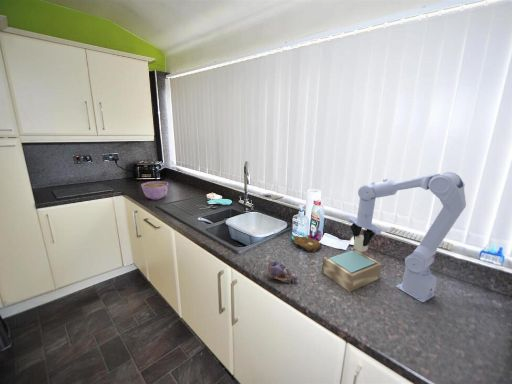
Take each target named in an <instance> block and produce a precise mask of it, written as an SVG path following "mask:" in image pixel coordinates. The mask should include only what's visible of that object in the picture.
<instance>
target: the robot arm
mask: <svg viewBox="0 0 512 384" xmlns="http://www.w3.org/2000/svg"><path fill="white" fill-rule="evenodd" d="M465 185H466V184H465V182H464V181H463V178H461V177H460V176H459V174H457V173H455V172H452V171H451V172H450V171H448V172H444V173H442V174H441V173H432V174H424V175H421V176H416V177H412V178H411V177H410V178H408V179H404V180H399V181H394V180H392V179H388V178H386V179H383V180H382V181H380V182H371V183H370V184H366V185H363V186H360V188H358V192H357V194H358V196H359V202H358V209H357V210H358V211H357V216H356V218H354V217H352V216H351V217H348V218H347V223H349V224H350V223H351V225H350V230H351V231H352V235H353V241H354V240H355V236H358V235H361V231H362V230H363V229H365V230H363V231H362V233H363V234H362V235H363V236H364V241H363V246H368V247H369V243H370V241H371V240H372V238H373V237H374V236H375V235H377V236H378V235H380V234H382V229H381V228H379V227H378V226H376V225H374V224H373V223H372V222H373V217H374V210H375V205H376V199H378V198H384V197H388V196H395V195H396V194H397V192H398V191H402V190H409V189H413V188H414V189H415V188H421V189H423V190H426V191H428V190H429V191H430V192H431V193H432V194H433V195H434V196H435V197H437V198H438V199H439V201H440V202H441V204H442V208H441V210H440V212H439V213H438V215H437V216H436V217H435V219H434V220H433V222H432V224H431V226H430V227H429V229H428V230H427V232H426V234H425V235H424V236H423V238H422V240H421V242H420V243H419V245H417V247H416V248H415V249H414V250H413V252H412V253H411V254H409V255H407V256H406V257H405V258H404V264H405V268H404V273H403V277H402V282H401V283H399V284H397V285H396V286H395V287H396V288H397V289H399V290H400V291H402V292H403V293H405V294H407V295H409V296H411V298H413V299H416V300H418V301H419V302H420V303H425V302H427V301H428V300H430V299H431V298H433V297H435V292H436V291H435V290H436V287H437V283H438V278H437V277H436V276H434V275H433V274H432V273H431V269H430V266H431V265H432V264H433V263H434V262H435V255H436V254H437V250H438V248H439V247H440V245H441V244H442V242H443V241H444V239H445V238H446V236H447V235H448V233H449V232H450V230H451V229H452V227H453V226H454V224H455V223H457V221H458V219H459V217H460V216H461V214H462V212H463V211H464V210H465V209H466V206H467V201H466V193H465Z"/></svg>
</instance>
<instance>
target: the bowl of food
mask: <svg viewBox="0 0 512 384" xmlns="http://www.w3.org/2000/svg"><path fill="white" fill-rule="evenodd" d="M140 186H141V189H142V192H143V194H144V196H145V197H146V198H147V199H149V200H150V199H151V200H153V201H154V200H155V201H156V200H160V199H163V198H164V197H166V195H168V191H169V182H168V181H165V180H164V181H162V180H156V181H147V182H144V183H141V184H140Z"/></svg>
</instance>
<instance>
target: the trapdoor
mask: <svg viewBox="0 0 512 384" xmlns="http://www.w3.org/2000/svg"><path fill="white" fill-rule="evenodd" d="M329 259H330V260H331V261H333V262H334V263H336V264H337V265H339V266H341V267H342V268H344V269H345V270H347V271H348V272H350V273H352V274H353V273H356V272H358V271H360V270H363V269H365V268H368V267H370V266H373V265H375V262H373V261H371V260H369V259H367V258H366V257H364V256H362V255H360V254H358V253H356V252H354V251H353V250H352V251H350V250H349V251H346V252H343V253H339V254H337V255H334V256H332V257H329Z"/></svg>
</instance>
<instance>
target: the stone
mask: <svg viewBox="0 0 512 384" xmlns="http://www.w3.org/2000/svg"><path fill="white" fill-rule="evenodd" d="M363 241H364V234H360V235H358V236H355V240H354V239H353V247H352V248H353V249H355V250H357V251H359V252H360V253H363V252H366V251H368V250H369V249H368V248H369V245H368V246H363Z"/></svg>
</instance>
